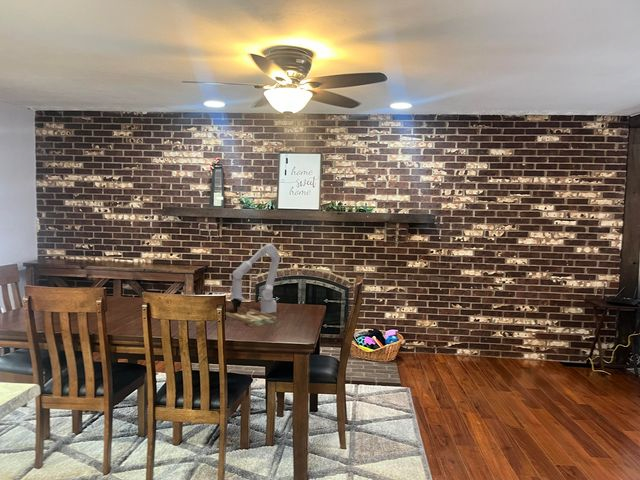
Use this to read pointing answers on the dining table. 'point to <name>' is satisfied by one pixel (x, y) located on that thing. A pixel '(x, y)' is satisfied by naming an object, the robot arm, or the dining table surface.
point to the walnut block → (242, 310)
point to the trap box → (254, 318)
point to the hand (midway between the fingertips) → (236, 311)
